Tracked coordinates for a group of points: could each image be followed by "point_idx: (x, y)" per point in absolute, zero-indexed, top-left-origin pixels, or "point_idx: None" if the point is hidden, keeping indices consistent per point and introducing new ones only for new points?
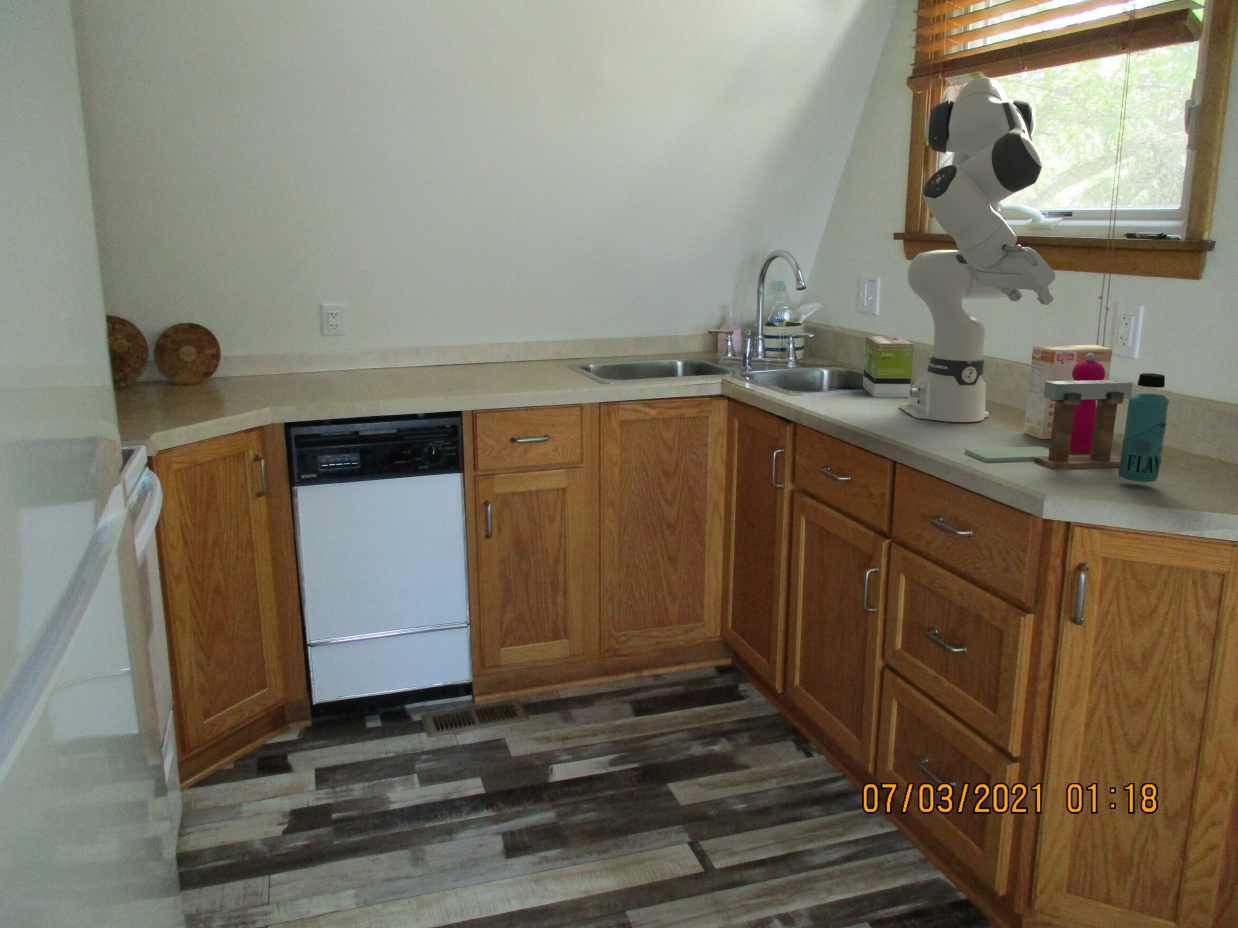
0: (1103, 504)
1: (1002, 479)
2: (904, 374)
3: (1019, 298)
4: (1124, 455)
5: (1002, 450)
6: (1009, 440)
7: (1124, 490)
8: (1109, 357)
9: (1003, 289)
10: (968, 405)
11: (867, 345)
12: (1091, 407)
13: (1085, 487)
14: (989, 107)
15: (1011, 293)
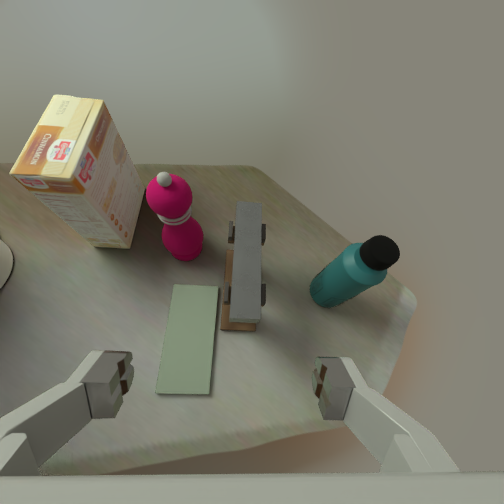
0: (384, 375)
1: (287, 427)
2: None
3: (129, 363)
4: (335, 302)
5: (177, 344)
6: (118, 286)
7: (336, 316)
8: (108, 114)
9: (41, 455)
10: None
11: None
12: (191, 222)
13: (325, 347)
14: None
15: (95, 407)
